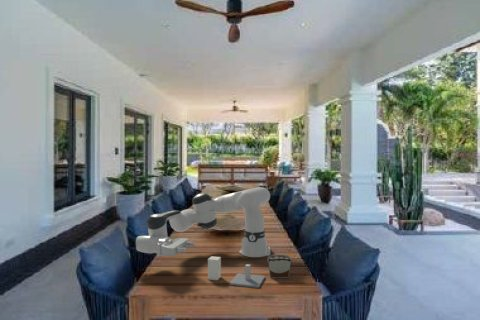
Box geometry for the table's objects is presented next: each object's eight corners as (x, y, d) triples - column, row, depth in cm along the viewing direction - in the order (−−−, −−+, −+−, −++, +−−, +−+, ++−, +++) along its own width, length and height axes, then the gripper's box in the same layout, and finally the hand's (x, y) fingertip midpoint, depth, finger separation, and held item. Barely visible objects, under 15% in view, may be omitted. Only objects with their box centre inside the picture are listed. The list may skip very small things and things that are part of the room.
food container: (290, 273, 212) (290, 254, 211) (291, 277, 206) (292, 257, 205) (265, 273, 212) (266, 254, 211) (267, 277, 205) (267, 258, 205)
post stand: (237, 275, 209) (237, 259, 208) (265, 277, 205) (265, 261, 205) (229, 285, 196) (229, 268, 195) (258, 288, 192) (258, 271, 191)
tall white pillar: (211, 275, 208) (211, 256, 207) (220, 276, 207) (220, 257, 206) (207, 279, 203) (207, 259, 202) (217, 280, 202) (217, 260, 201)
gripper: (173, 246, 221) (198, 248, 217) (156, 257, 201) (182, 259, 197) (173, 234, 220) (198, 236, 217) (155, 244, 201) (182, 246, 197)
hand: (190, 247), depth 207 cm, fingers open, 8 cm apart
